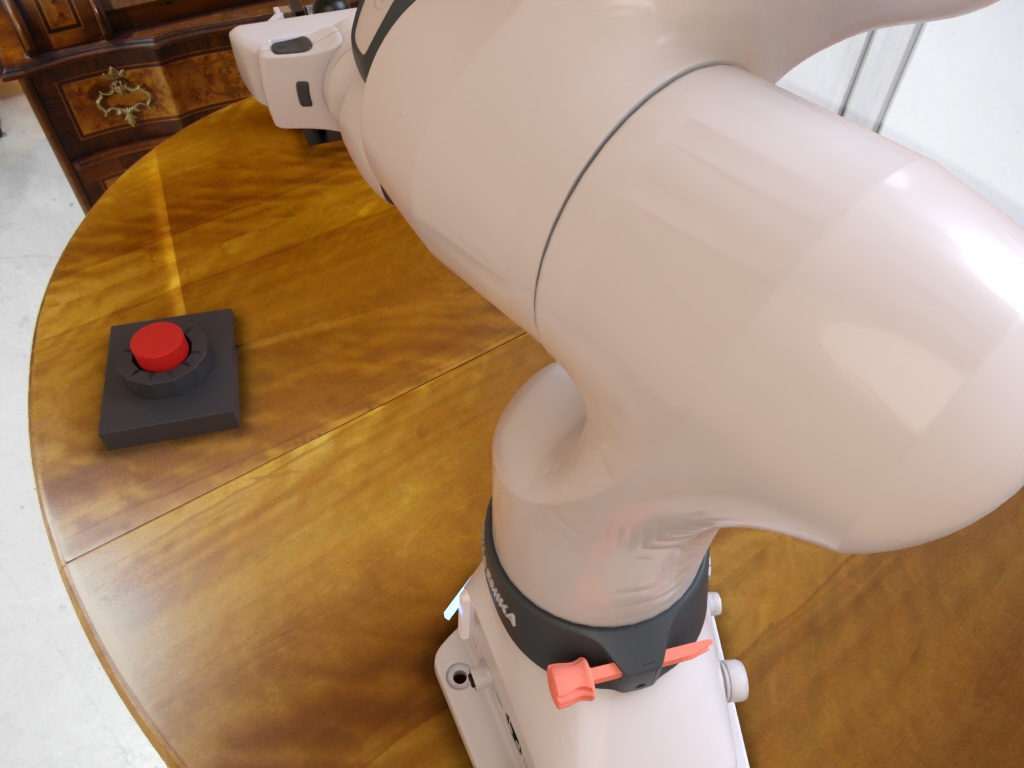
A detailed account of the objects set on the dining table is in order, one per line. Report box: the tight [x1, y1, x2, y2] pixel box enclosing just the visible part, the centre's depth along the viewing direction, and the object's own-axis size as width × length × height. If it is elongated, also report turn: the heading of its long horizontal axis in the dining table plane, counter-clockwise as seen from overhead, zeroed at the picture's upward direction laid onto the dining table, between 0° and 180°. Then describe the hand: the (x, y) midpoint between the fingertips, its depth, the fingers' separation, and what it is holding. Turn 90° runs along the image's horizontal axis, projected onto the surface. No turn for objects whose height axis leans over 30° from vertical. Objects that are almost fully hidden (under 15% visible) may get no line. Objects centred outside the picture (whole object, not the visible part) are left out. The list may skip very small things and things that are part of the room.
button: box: [130, 322, 189, 372], centre depth 62 cm, size 4×4×2 cm
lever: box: [302, 0, 352, 15], centre depth 77 cm, size 14×4×4 cm, turn 22°
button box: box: [97, 307, 241, 452], centre depth 64 cm, size 12×10×4 cm
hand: (332, 6), depth 73 cm, fingers open, 8 cm apart
